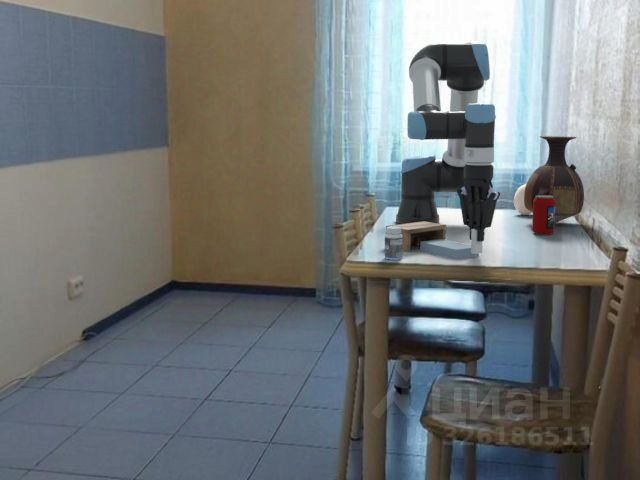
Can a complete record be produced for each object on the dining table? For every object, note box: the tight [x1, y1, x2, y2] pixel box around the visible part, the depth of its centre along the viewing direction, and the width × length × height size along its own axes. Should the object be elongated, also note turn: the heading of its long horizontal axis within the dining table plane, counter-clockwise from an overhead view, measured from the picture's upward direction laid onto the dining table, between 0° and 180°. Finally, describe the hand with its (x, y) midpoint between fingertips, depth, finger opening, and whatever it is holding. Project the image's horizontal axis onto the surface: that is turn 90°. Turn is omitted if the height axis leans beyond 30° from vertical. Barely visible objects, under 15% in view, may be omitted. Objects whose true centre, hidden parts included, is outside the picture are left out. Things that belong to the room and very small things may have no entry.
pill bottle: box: [384, 225, 403, 261], centre depth 201 cm, size 5×5×8 cm
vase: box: [524, 135, 585, 224], centre depth 256 cm, size 23×19×30 cm
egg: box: [513, 183, 533, 216], centre depth 282 cm, size 9×9×12 cm
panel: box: [419, 239, 480, 260], centre depth 208 cm, size 15×8×3 cm, turn 31°
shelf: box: [385, 221, 447, 253], centre depth 218 cm, size 9×15×6 cm, turn 127°
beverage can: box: [531, 195, 556, 236], centre depth 239 cm, size 7×7×12 cm
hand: (476, 253), depth 201 cm, fingers closed
